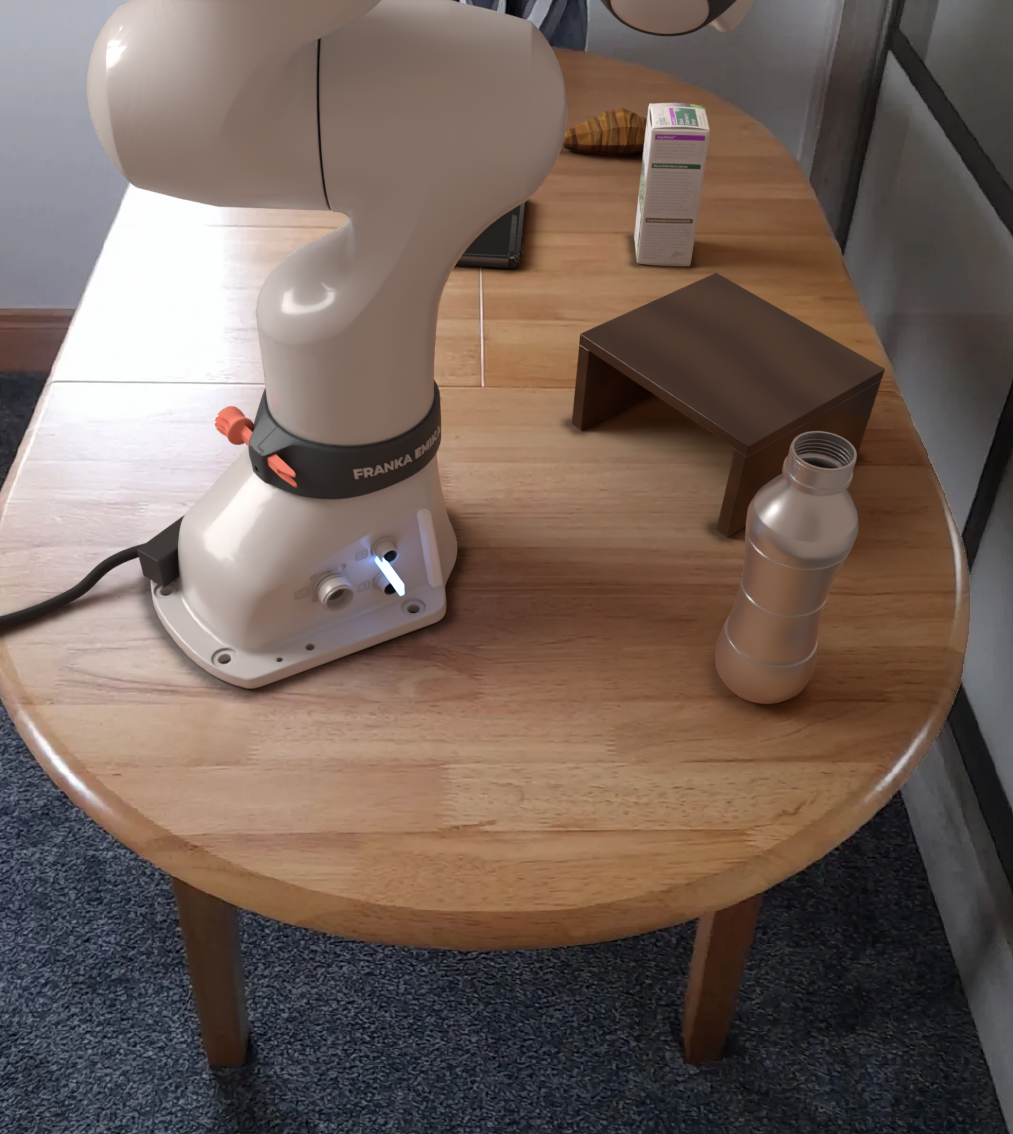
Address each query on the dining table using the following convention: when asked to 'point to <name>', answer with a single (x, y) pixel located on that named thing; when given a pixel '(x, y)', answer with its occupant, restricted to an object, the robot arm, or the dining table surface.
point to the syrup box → (671, 183)
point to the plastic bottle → (789, 570)
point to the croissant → (608, 134)
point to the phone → (497, 243)
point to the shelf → (728, 378)
